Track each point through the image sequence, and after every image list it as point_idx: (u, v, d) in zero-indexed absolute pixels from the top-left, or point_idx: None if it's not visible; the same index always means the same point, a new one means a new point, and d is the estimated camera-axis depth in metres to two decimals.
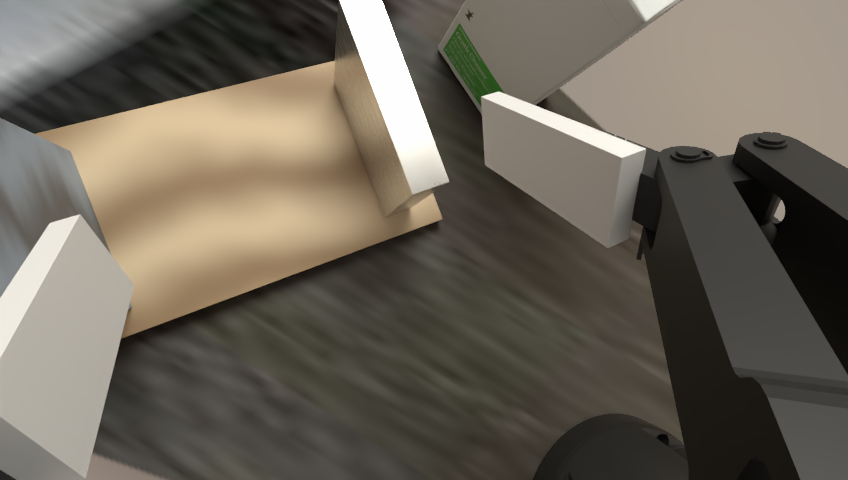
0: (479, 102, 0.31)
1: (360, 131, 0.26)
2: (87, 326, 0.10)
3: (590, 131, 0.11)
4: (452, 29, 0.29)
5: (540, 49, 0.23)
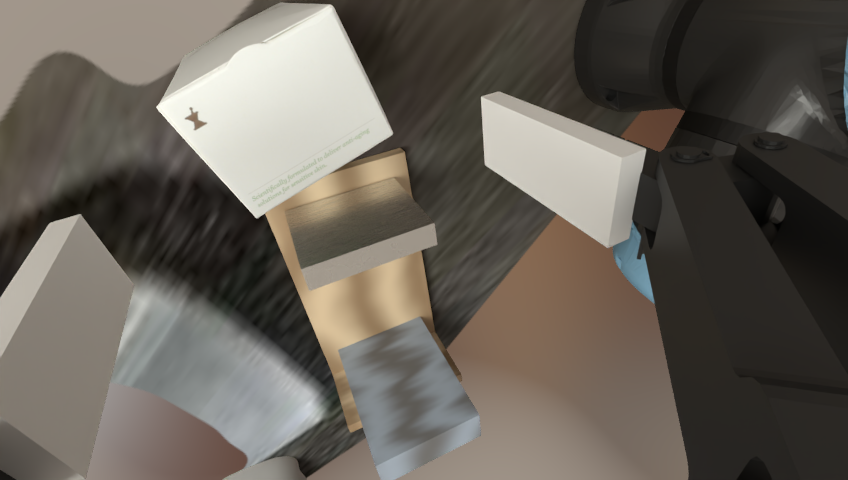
0: None
1: None
2: (87, 326, 0.10)
3: (590, 131, 0.11)
4: None
5: None
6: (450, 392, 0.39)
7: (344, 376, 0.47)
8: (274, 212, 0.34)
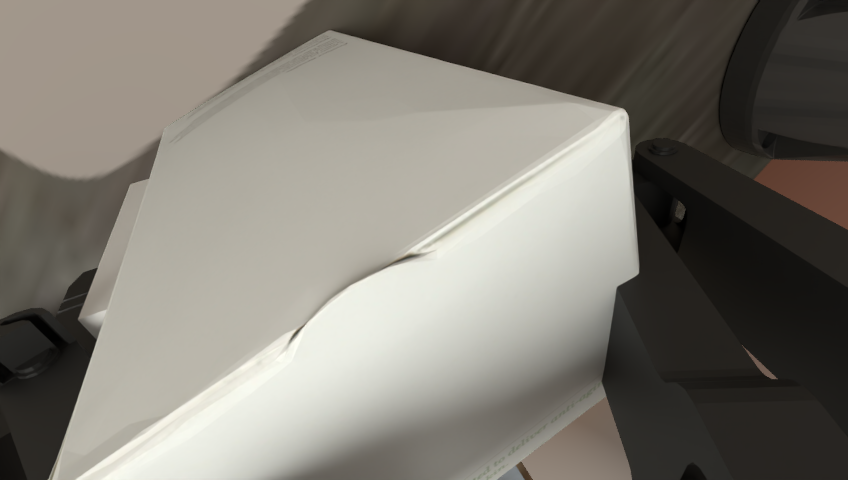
0: None
1: None
2: None
3: None
4: None
5: None
6: None
7: None
8: None
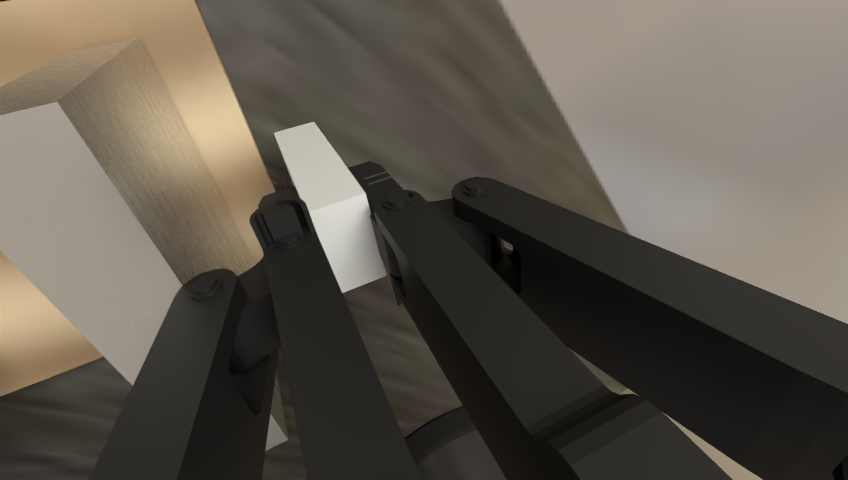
0: None
1: None
2: None
3: (341, 171, 0.11)
4: None
5: None
6: None
7: None
8: (128, 7, 0.13)
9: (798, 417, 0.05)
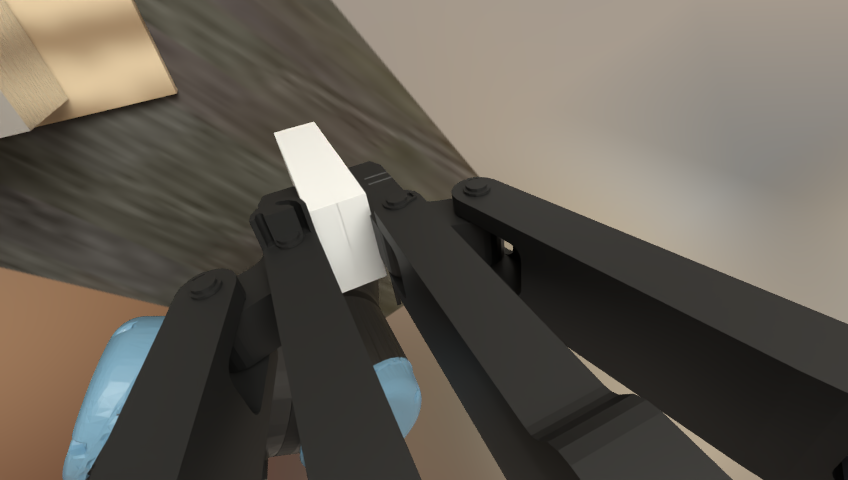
0: None
1: None
2: None
3: (341, 171, 0.11)
4: None
5: None
6: None
7: None
8: None
9: (798, 417, 0.05)
